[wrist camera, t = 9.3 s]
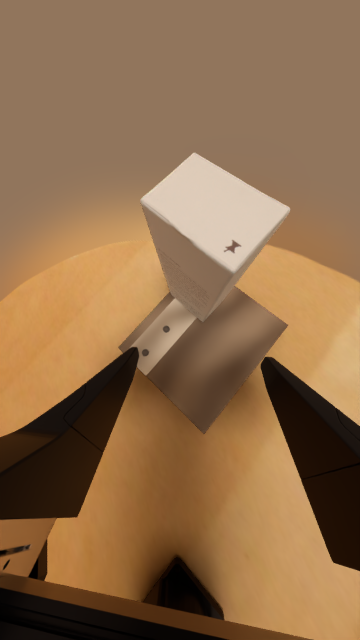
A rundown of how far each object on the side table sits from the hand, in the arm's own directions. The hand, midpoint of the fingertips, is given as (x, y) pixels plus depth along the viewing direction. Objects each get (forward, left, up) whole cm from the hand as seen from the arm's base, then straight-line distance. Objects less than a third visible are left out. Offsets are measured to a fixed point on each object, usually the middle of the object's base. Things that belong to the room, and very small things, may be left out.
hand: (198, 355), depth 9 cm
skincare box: (+4, -6, -7) cm, 10 cm away
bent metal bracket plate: (0, -2, -9) cm, 9 cm away
